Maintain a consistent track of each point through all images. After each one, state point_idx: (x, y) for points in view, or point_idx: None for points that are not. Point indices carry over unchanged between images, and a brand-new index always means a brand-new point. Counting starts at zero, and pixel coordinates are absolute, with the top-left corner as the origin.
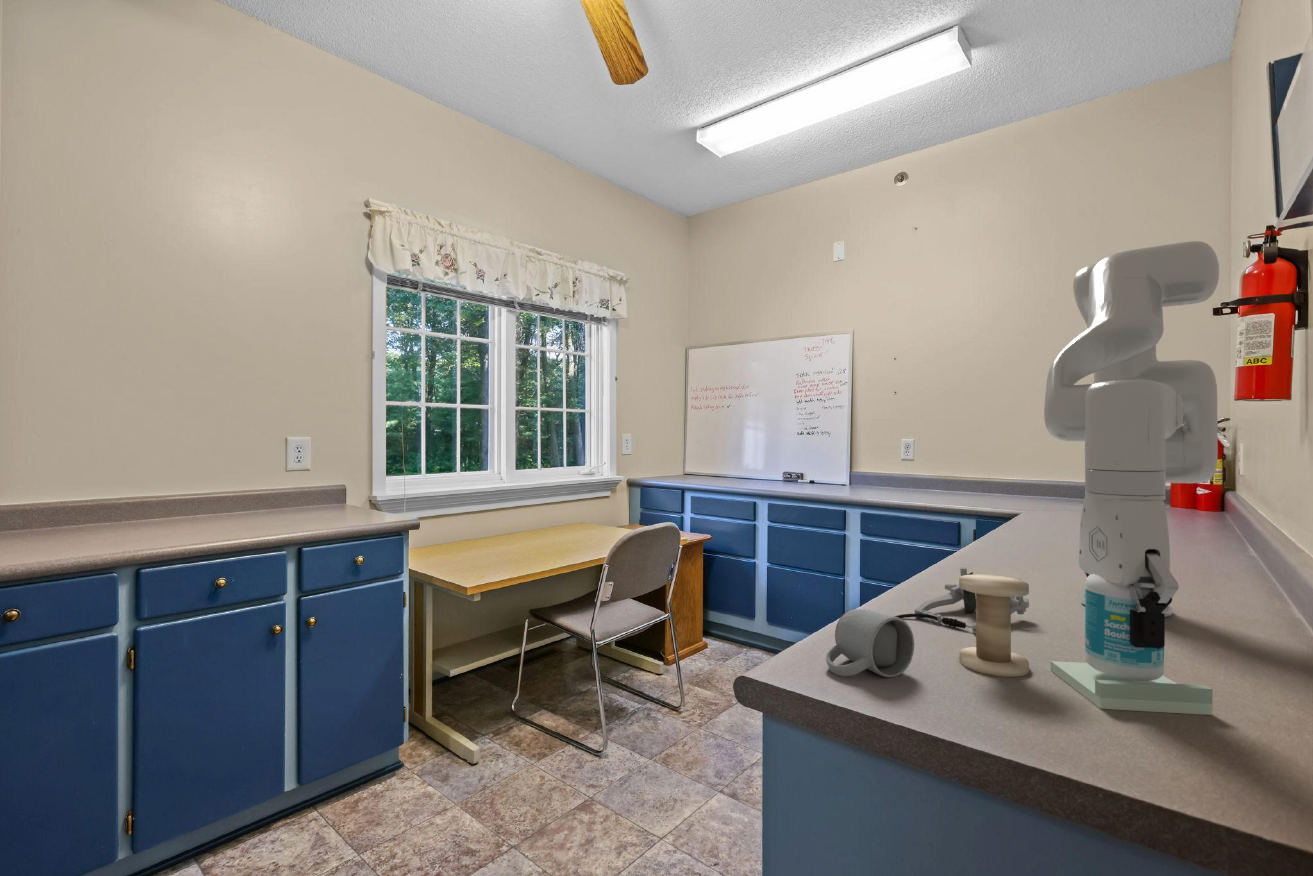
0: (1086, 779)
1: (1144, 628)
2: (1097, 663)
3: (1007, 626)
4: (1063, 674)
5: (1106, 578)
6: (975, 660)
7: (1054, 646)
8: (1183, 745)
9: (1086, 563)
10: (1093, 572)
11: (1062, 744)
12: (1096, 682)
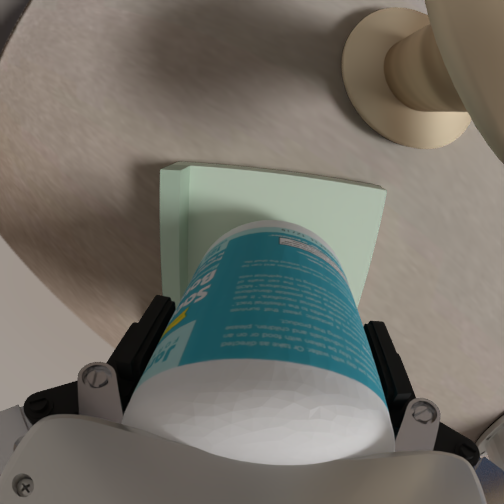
0: (8, 51)
1: (122, 341)
2: (249, 225)
3: (429, 74)
4: (326, 178)
5: (173, 451)
6: (393, 21)
7: (480, 281)
8: (74, 211)
9: (401, 499)
10: (320, 472)
11: (63, 43)
12: (176, 169)
